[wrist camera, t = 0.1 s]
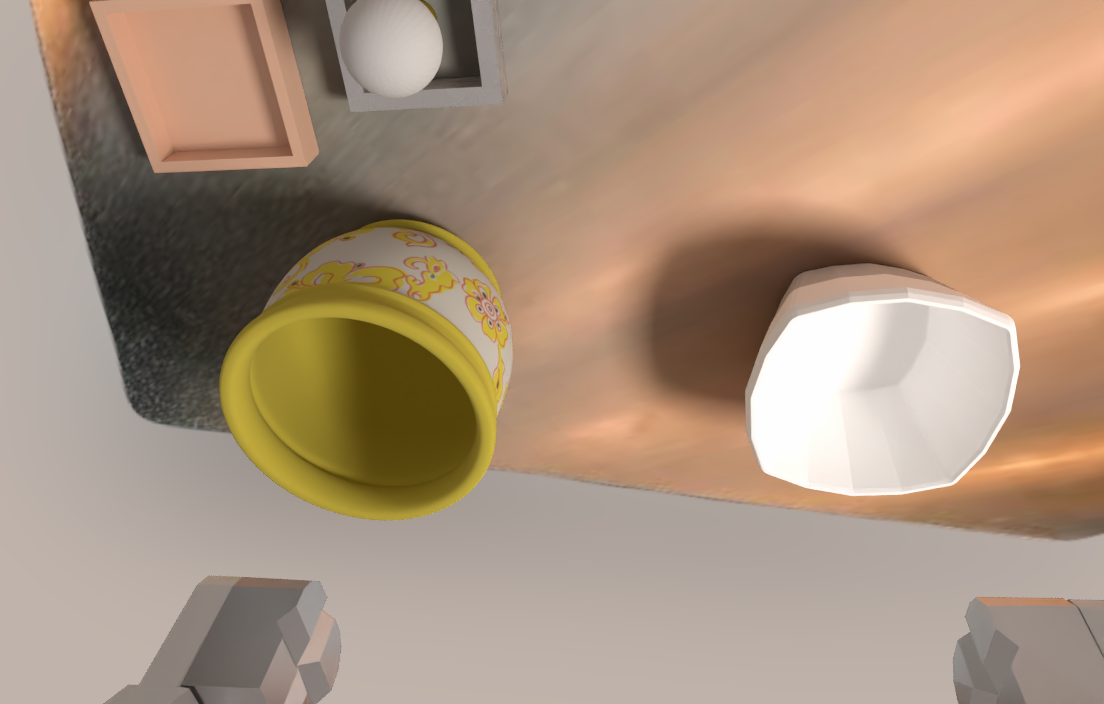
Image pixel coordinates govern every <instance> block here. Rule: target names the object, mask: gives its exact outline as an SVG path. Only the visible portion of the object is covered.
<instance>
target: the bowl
mask: <svg viewBox="0 0 1104 704" xmlns="http://www.w3.org/2000/svg"><path fill="white" fill-rule="evenodd" d="M1019 369H1020V362H1019V353H1018V345H1017V337H1016V328H1015V323H1014V321H1013V319H1012V318H1011V317H1010V316H1008V315H1006V314H1004V313H1002V312H1000V311H998V310H996V309H994V308H992V307H990V306H988V305H986V304H984V303H982V302H980V301H978V300H976V299H974V298H972V297H970V296H968V295H966V294H963V293H960V292H958V291H956V290H954V289H952V288H950V287H948V286H946V285H944V284H942V283H940V282H938V281H936V280H934V279H932V278H930V277H927V276H924V275H921V274H918V273H915V272H912V271H909V270H906V269H902V268H896V267H890V266H884V265H878V264H872V263H863V264H850V265H838V266H830V267H825V268H820V269H815V270H811V271H806V272H803V273H801V274H799V275H797V276H796V277H795V278H794V279H793V281H792V283H791V284H790V286H789V288H788V290H787V291H786V293H785V295H784V297H783V298H782V300H781V303H780V305H779V307H778V309H777V312H776V314H775V316H774V319H773V321H772V322H771V324H770V327H769V329H768V331H767V333H766V336H765V338H764V340H763V343H762V345H761V347H760V350H759V353H758V356H757V358H756V361H755V364H754V367H753V370H752V373H751V376H750V378H749V381H748V384H747V387H746V390H745V408H746V433H747V436H748V438H749V441H750V444H751V447H752V450H753V452H754V455H755V458H756V461H757V463H758V465H759V467H760V468H761V470H762V471H764V472H765V473H767V474H769V475H772V476H775V477H777V478H780V479H783V480H786V481H789V482H791V483H794V484H797V485H800V486H803V487H805V488H810V489H816V490H821V491H827V492H833V493H839V494H845V495H851V496H865V495H897V494H907V493H912V492H918V491H923V490H929V489H934V488H940V487H945V486H950V485H953V484H955V483H956V482H958V481H959V479H960V478H961V477H962V476H963V475H964V474H965V473H966V472H967V471H968V470H969V469H970V468H971V467H972V466H973V465H974V464H975V463H976V462H977V461H978V460H979V459H980V458H981V457H982V456H983V455H984V454H985V453H986V451H987V450H988V448H989V446H990V445H991V443H992V442H993V440H994V438H995V437H996V435H997V433H998V432H999V430H1000V428H1001V427H1002V425H1003V423H1004V422H1005V420H1006V418H1007V417H1008V415H1009V413H1010V411H1011V407H1012V402H1013V397H1014V392H1015V388H1016V383H1017V378H1018V373H1019Z"/></svg>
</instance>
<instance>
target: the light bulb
mask: <svg viewBox="0 0 1104 704" xmlns="http://www.w3.org/2000/svg"><path fill="white" fill-rule="evenodd" d="M339 44H340V51H341V56H342V59H343V62H344V64H345V66H346V68H347V70H348V71H349V73H350V74H351V76H352V77H353V78H354V79H355V81H356V82H357V83H358V84H360V85H361V86H362V87H363V88H365V89H366V90H368V91H369V92H371V93H374V94H376V95H379V96H382V97H387V98H402V97H407V96H410V95H413V94H415V93H417V92H419V91H420V90H422V89H423V88H424V87H426V86H427V85H428V84H429V83H430V82H431V80H432V79H433V78H434V76H435V75H436V73H437V71H438V69H439V66H440V63H441V59H442V54H443V42H442V35H441V32H440V28H439V26H438V23H437V16H436V13H435V11H434V9H433V8H432V7H431V6H430V5H429V4H428V3H427V2H426V1H424V0H357V1H356V2H355V3H354V4H353V5H352V6H351V7H350V9H349V10H348V12H347V13H346V15H345V17H344V19H343V21H342V25H341V28H340V36H339Z"/></svg>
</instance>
